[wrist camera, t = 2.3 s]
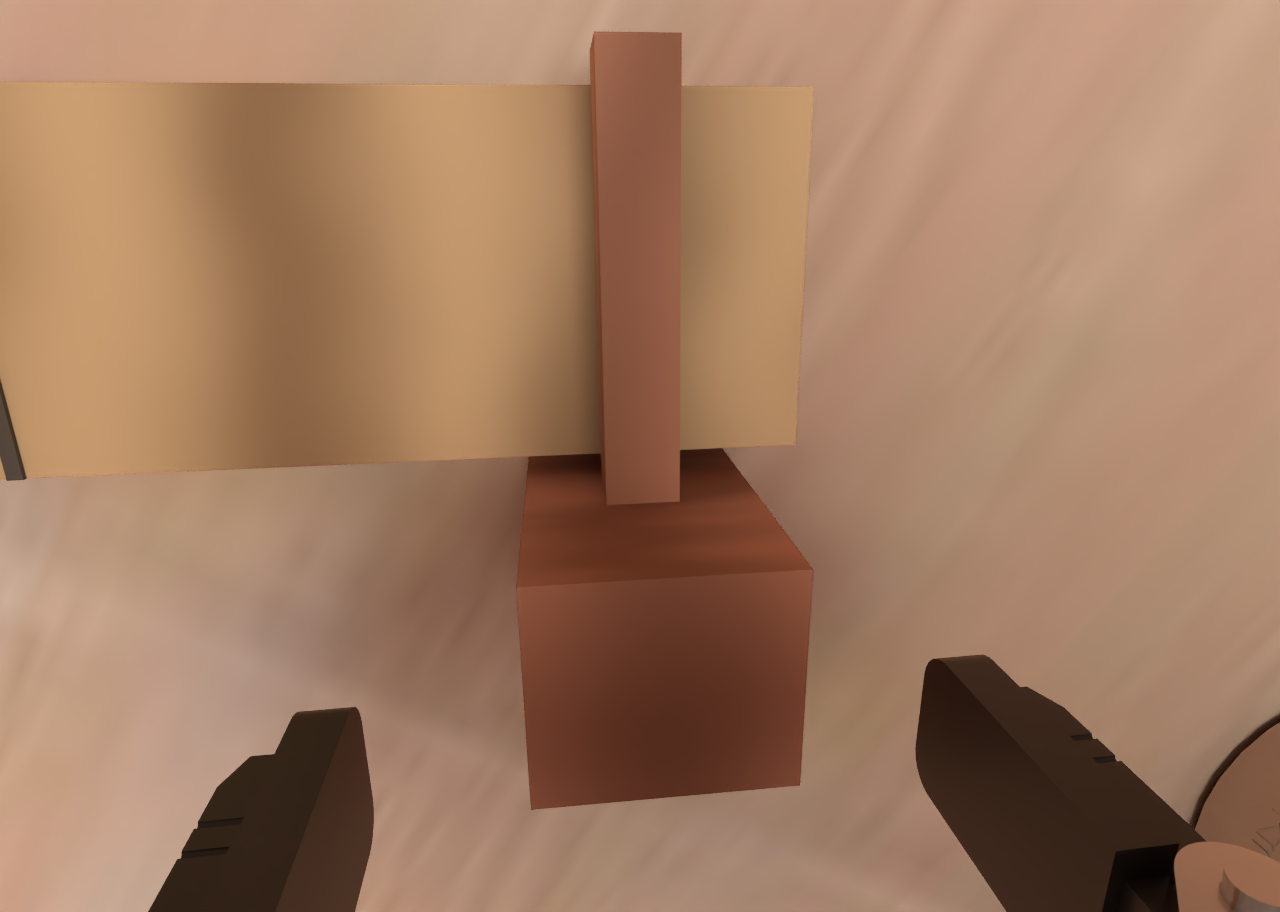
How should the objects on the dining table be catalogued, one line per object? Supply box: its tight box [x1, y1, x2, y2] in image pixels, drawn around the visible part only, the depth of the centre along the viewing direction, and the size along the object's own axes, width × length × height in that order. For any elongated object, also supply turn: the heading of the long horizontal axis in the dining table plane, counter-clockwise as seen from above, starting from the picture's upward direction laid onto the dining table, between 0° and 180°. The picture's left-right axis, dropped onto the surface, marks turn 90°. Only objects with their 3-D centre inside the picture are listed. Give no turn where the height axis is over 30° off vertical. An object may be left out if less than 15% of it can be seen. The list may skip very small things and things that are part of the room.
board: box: [0, 82, 814, 481], centre depth 15 cm, size 19×7×2 cm, turn 90°
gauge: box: [516, 32, 813, 810], centre depth 14 cm, size 4×13×7 cm, turn 0°
